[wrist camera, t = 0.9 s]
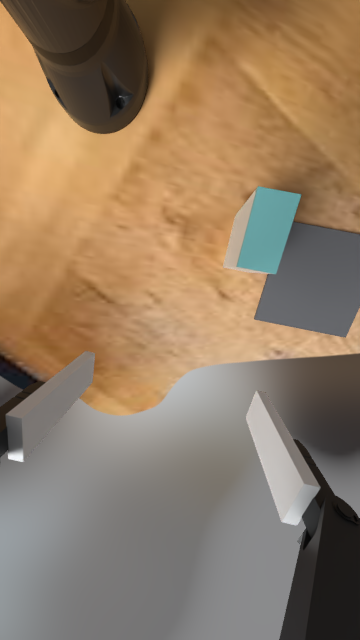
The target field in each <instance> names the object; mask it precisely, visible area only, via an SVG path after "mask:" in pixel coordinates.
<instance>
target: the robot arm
mask: <svg viewBox="0 0 360 640" xmlns="http://www.w3.org/2000/svg"><path fill="white" fill-rule="evenodd" d="M0 2H1V3H2V4H3V6H4V7H5V8H6V10H7V11H8V13H9V14H10V15H11V17H12V18H13V19H14V21H15V22H16V24H17V25H18V26H19V28H20V29H21V30H22V32H23V33H24V35H25V36H26V37H27V39H28V40H29V42H30V43H31V44H32V46H33V49H34V51H35V53H36V56H37V58H38V60H39V63H40V65H41V67H42V70H43V72H44V74H45V76H46V78H47V81H48V83H49V86H50V88H51V90H52V92H53V94H54V95H55V97H56V99H57V100H58V102H59V103H60V105H61V106H62V107H63V108H64V110H65V111H66V112H67V113H68V115H69V116H70V117H71V118H72V119H73V120H74V121H75V122H76V123H77V124H78V125H80V126H81V127H83V128H84V129H86V130H88V131H91V132H94V133H100V134H107V133H112V132H116V131H118V130H120V129H122V128H123V127H125V126H126V125H127V124H129V123H130V122H131V121H132V120H133V118H134V117H135V116H136V114H137V113H138V111H139V109H140V108H141V105H142V103H143V101H144V98H145V94H146V90H147V84H148V63H147V57H146V52H145V47H144V43H143V38H142V35H141V32H140V29H139V26H138V23H137V21H136V19H135V17H134V15H133V13H132V11H131V10H130V8H129V6H128V4H127V3H126V1H125V0H0ZM94 359H95V353H92V352H88V351H85V352H84V353H83V354H81V355H80V356H79V357H78V358H76V359H75V360H74V361H72V362H71V363H70V364H69V365H67V366H66V367H65V368H64V369H62V370H61V371H60V372H59V373H57V374H56V375H55V376H54V377H52V378H51V379H50V380H49V381H47V382H41V381H39V382H36V383H34V384H32V385H30V386H28V387H27V388H25V389H24V390H23V391H22V392H20V393H19V394H17V395H16V396H15V397H14V398H12V399H11V400H9V401H8V402H6V403H5V404H4V405H3V406H1V407H0V457H1V456H2V455H3V454H4V453H5V452H6V451H7V450H8V458H9V459H13V460H17V461H21V462H24V461H25V460H26V458H27V457H28V456H29V455H30V454H31V453H32V451H33V450H34V449H35V448H36V447H37V446H38V445H39V443H40V442H41V441H42V440H43V439H44V438H45V437H46V435H47V434H48V433H49V432H50V431H51V430H52V428H53V427H54V426H55V425H56V424H57V423H58V421H59V420H60V419H61V418H62V417H63V415H64V414H65V413H66V412H67V411H68V410H69V409H70V407H71V406H72V405H73V404H74V403H75V402H76V401H77V399H78V398H79V397H80V396H81V395H82V394H83V393H84V391H85V390H86V389H87V388H88V387H89V386H90V384H91V383H92V380H93V370H94ZM246 420H247V423H248V426H249V429H250V432H251V435H252V438H253V440H254V444H255V446H256V449H257V452H258V455H259V458H260V461H261V464H262V467H263V470H264V472H265V475H266V478H267V481H268V484H269V487H270V490H271V492H272V495H273V498H274V501H275V504H276V507H277V510H278V513H279V516H280V519H281V521H282V522H284V523H288V524H293V525H297V524H298V523H299V521H300V520H301V518H302V519H303V521H304V524H305V526H306V529H305V530H304V532H303V534H302V535H301V537H300V538H299V540H298V543H299V544H300V543H301V545H300V550H299V555H298V559H297V563H296V568H295V573H294V577H293V581H292V586H291V591H290V595H289V599H288V604H287V609H286V613H285V617H284V622H283V626H282V630H281V635H280V639H279V640H360V518H359V517H358V516H357V514H356V512H355V511H354V510H353V509H352V508H351V507H350V506H349V505H348V504H347V503H346V502H345V501H344V500H342V499H341V498H339V497H337V496H335V495H334V493H333V491H332V490H331V488H330V487H329V485H328V483H327V482H326V480H325V478H324V477H323V475H322V473H321V472H320V470H319V469H318V467H316V464H315V462H314V461H313V459H312V458H311V456H310V454H309V452H308V451H307V449H306V448H305V447H304V446H303V445H302V444H301V443H300V442H299V441H298V440H295V439H292V437H291V435H290V433H289V432H288V430H287V428H286V427H285V425H284V423H283V421H282V420H281V418H280V416H279V415H278V413H277V411H276V409H275V407H274V406H273V404H272V402H271V400H270V399H269V397H268V395H267V394H266V392H262V391H256V393H255V395H254V398H253V400H252V403H251V405H250V408H249V410H248V413H247V415H246Z"/></svg>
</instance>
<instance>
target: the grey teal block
mask: <svg viewBox="0 0 360 640" xmlns="http://www.w3.org/2000/svg"><path fill="white" fill-rule="evenodd" d="M300 198H301V194H296V193H291V192H285V191H280V190H275V189H269V188H264V187H259V186H258V187H257V189H256V190H255V191H254V192H253V194H252V195H251V196H250V198H249V199H248V200H247V201H246V203H245V204H244V205H243V206H242V208H241V209H240V210H239V211H238V213H237V214H236V215H235V219H234V223H233V227H232V232H231V236H230V240H229V244H228V248H227V252H226V256H225V261H224V265H223V268H229V269H234V270H239V271H244V272H249V273H265V274H276V273H277V269H278V266H279V263H280V260H281V257H282V254H283V251H284V248H285V244H286V241H287V238H288V235H289V232H290V229H291V226H292V223H293V220H294V216H295V213H296V210H297V207H298V204H299V201H300Z"/></svg>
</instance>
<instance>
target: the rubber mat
mask: <svg viewBox="0 0 360 640" xmlns="http://www.w3.org/2000/svg"><path fill="white" fill-rule="evenodd" d="M359 307H360V234H355V233H350V232H344V231H339V230H334V229H329V228H323V227H318V226H313V225H308V224H303V223H297V222H293V223H292V226H291V229H290V232H289V235H288V238H287V241H286V244H285V248H284V251H283V254H282V257H281V260H280V263H279V266H278V269H277V273H276V274H268V275H267V279H266V282H265V285H264V288H263V292H262V295H261V298H260V301H259V305H258V308H257V311H256V314H255V317H254V319H255V320H260V321H265V322H270V323H275V324H280V325H285V326H290V327H295V328H300V329H305V330H310V331H315V332H320V333H325V334H330V335H335V336H340V337H345V338H346V335H347V333H348V331H349V329H350V327H351V325H352V322H353V320H354V318H355V316H356V314H357V312H358V309H359Z"/></svg>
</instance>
